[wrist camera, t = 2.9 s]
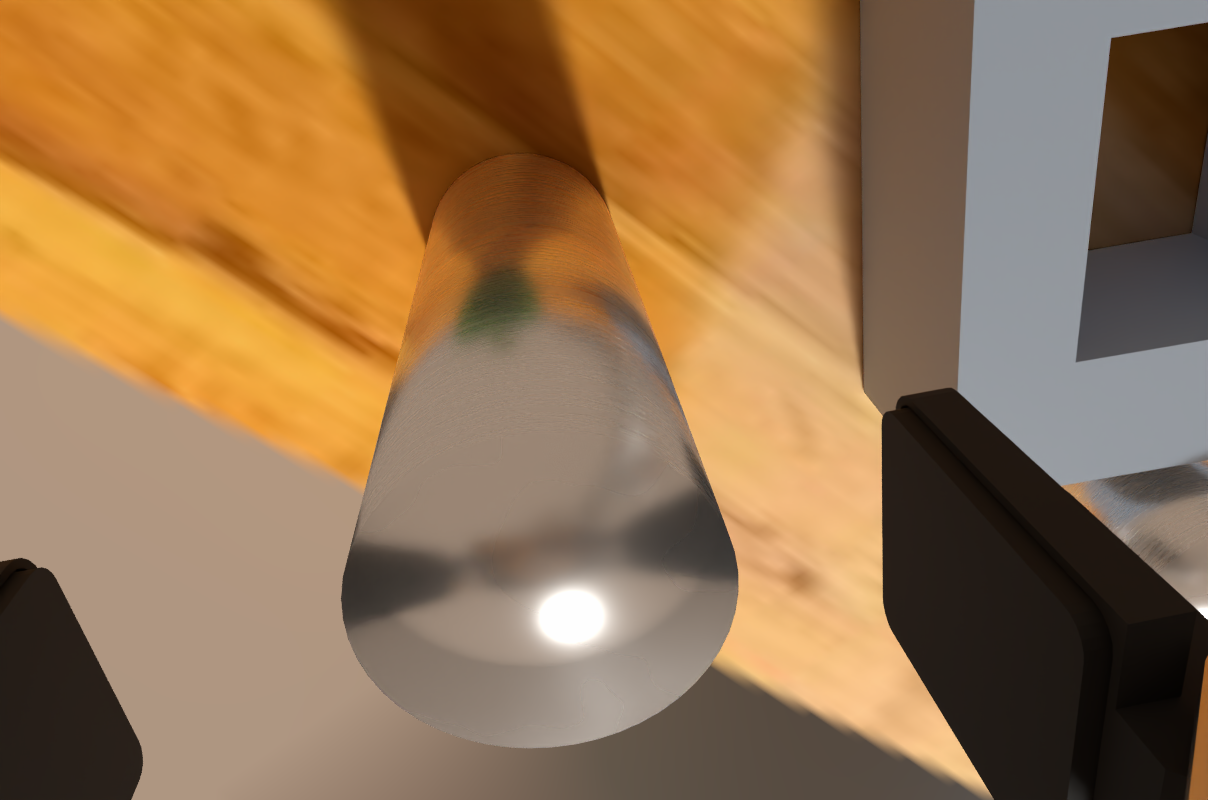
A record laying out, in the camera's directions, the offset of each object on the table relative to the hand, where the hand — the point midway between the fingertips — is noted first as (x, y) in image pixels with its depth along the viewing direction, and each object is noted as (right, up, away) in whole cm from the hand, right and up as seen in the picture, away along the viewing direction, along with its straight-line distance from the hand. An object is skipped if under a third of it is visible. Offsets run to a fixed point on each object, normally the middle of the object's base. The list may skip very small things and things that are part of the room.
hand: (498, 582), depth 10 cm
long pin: (-1, +5, +10) cm, 11 cm away
